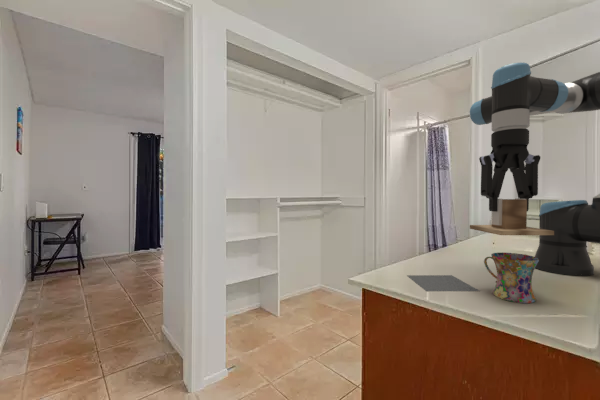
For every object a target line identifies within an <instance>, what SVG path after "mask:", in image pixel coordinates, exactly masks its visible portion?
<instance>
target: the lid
mask: <svg viewBox="0 0 600 400" xmlns="http://www.w3.org/2000/svg"><path fill="white" fill-rule="evenodd" d="M501 199H502V225H493V224H492V223H491V224H470V225H469V229H470V230H474V231H479V232H484V233H488V234H493V235H499V236H539V235H554V231H552V230H545V229H539V228H537V227H533V226H532V227H531V226H527V225H528V223H527V219H528V218H527V213H528V211H527V200H521V199H519V198H513V199H512V198H507V199H504V198H501Z"/></svg>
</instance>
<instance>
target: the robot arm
mask: <svg viewBox="0 0 600 400" xmlns="http://www.w3.org/2000/svg"><path fill="white" fill-rule="evenodd" d="M531 74H532V71H531V66H530V65H529V63H527V62H514V63H509V64H505V65H503V66H501V67H499V68H497V69H496V70H495V71H494V72H493V75H492V80H491V81H492V82H491V83H492V84H491V87H490V89H491V96H489V97H488V96H487V97H486V98H481V99H480V100H477V101H475V102H474V103H473V104H472V105H471V106H470V108H469V118H470V120H471V121H472V123H473V124H475V125H478V126H481V125H488V124H491V131H492V133H491V135H490V136H491V137H490V140H491V142H490V147H491V148H492V150H491V151H490V154H487V155H482V156H479V158H478V159H479V163H480V167H481V169H480V195H481V196H482V197H485V198H486V199H488V211H489V212H491V224H493V225H502V199H503V198H500V195H501V191H502V187H503V184H504V180H505V176H506V173H507V172H508V171H509V172H510V173H511V174H512V176H513V177H512V178H513V182H514V185H515V190H516V193H517V197H518V199H521V200H527V212H528V211H529V209H530V208H529V202H530V201H529V200H530V199H533V198H534V196H535V197H536V196H538V194H539V177H538V176H539V163H540V161H541V156H540V155H539V154H537V155H534V154H531V153H529V150H528V145H529V144H530V130H529V129H528V128H529V127H530V124H531V123H530V116H531V117H532V116H537V115H538V116H539V115H543V114H548V113H549V114H550V113H556V114H571V113H583V112H592V111H599V110H600V71H598V72H595V73H593V74H589V75H587V76H584V77H581V78H579V79H577V80H574V81H570V82H565V83H564V82H562V81H557V80H556V79H552V78H543V77H536V76H531ZM493 162H494V165H493ZM493 167H494V168H493ZM538 214H539V215H538V217H539V229H545V230H552V231H554V235H538V238H539V241H538V247H537V249H536V251H535V255H534V257H536V258H538V259H539V262H538V263H537V265H536V267H535V269H537V270H540V271H544V272H550V273H555V274H560V275H565V276H566V275H567V276H568V275H569V276H586V277H587V276H593V275H594V274H595V267H594V264H592V261H591V258H590V255H589V252H588V250H587V243H595V244H600V193H598V194H596V195H595V196H593V197H592V201H591V204H589V203H588V201H587V200H585V199H576V200H562V201H561V200H560V201H549V202H548V201H547V202H545V203H542V204H541V205H540V207H539V213H538Z"/></svg>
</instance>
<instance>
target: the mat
mask: <svg viewBox="0 0 600 400" xmlns="http://www.w3.org/2000/svg"><path fill="white" fill-rule="evenodd" d="M406 277H408V278H409V279H410V280H411V281H413V282H414V283H415V284H417V286H419V287H420V288H421V289H423V290H424V291H425V292H480V290H479V289H478V288H476V287H474V286H472V285H470V284H468V283H467V282H465V281H463V280H461V279H459V278H458V277H456V276H454V275H452V274H450V275H449V274H446V275H445V274H441V275H440V274H439V275H438V274H437V275H435V274H434V275H431V274H429V275H424V274H423V275H420V274H419V275H417V274H416V275H413V274H412V275H411V274H410V275H407V274H406Z"/></svg>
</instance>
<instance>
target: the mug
mask: <svg viewBox="0 0 600 400" xmlns="http://www.w3.org/2000/svg"><path fill="white" fill-rule="evenodd" d="M488 259H492V260H493V262H494V263H493V264H494V265H495V268H496V274H494V272H492V270H491V269H490V268H489V265H488V262H487V260H488ZM538 262H539V259H538V258H536V257H535V256H532V255H530V254H529V255H528V254H524V253H516V252H492V253H491V256H487V257H485V258H484V260H483V263H484V267H485V268H486V270H487V272H489V274H490V275H491V276H492V277H493V278H494V279H496V281H495V283H496V284H495V287H494V288H493V290H492V294H493V295H494V296H495V297H497V298H498V299H499V300H500V299H501V300H504V301H507V302H511V303H515V304H516V303H517V304H534V303H535V302H536V301H537V298H536V296H535V294H534V291H533V285H532V283H533V282H532V281H533V280H532V279H533V275H534V271H535V269H536V268H535V267H536V265H537V263H538Z"/></svg>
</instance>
